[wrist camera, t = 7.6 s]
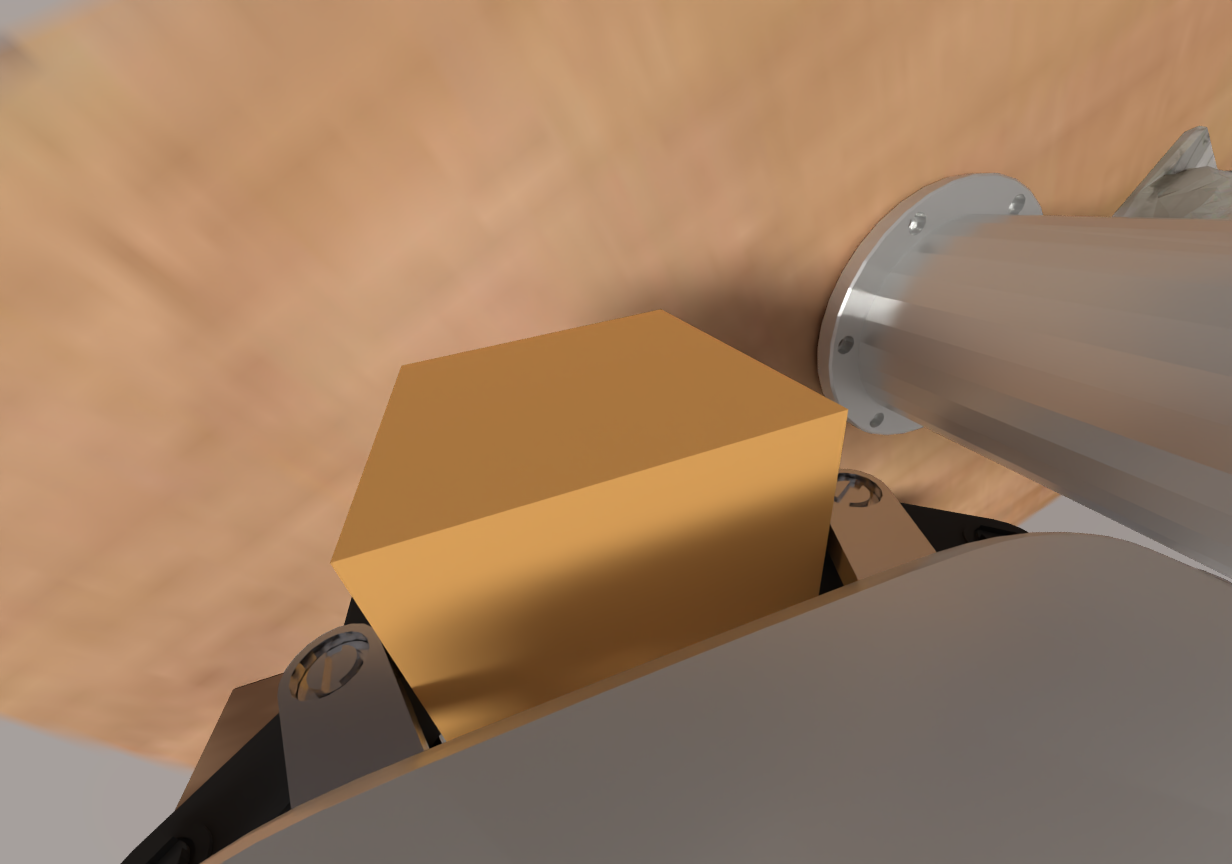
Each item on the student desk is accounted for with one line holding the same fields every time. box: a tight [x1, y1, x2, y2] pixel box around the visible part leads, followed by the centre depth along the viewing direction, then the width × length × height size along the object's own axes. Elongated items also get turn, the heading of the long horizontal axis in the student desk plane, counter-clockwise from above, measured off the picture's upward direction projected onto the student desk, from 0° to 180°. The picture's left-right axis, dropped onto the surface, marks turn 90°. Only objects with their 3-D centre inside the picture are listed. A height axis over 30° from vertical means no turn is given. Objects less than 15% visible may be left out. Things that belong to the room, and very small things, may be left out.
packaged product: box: [1112, 126, 1232, 220], centre depth 26 cm, size 18×5×10 cm
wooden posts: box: [175, 673, 284, 810], centre depth 21 cm, size 35×3×8 cm, turn 97°
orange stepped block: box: [330, 309, 848, 742], centre depth 10 cm, size 11×6×6 cm, turn 7°
